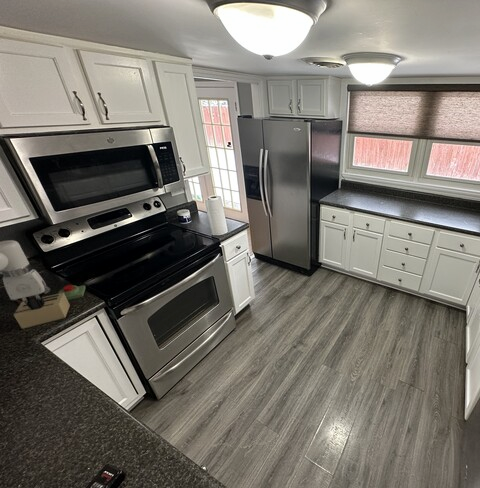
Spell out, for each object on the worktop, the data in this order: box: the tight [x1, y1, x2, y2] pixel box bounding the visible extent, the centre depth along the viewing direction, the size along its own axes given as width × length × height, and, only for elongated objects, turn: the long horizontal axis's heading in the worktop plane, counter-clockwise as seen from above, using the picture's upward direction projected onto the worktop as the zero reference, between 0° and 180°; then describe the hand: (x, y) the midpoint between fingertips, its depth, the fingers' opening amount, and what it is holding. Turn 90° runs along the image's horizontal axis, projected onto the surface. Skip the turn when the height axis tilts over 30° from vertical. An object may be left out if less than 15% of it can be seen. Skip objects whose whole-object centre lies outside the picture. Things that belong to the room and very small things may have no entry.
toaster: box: [13, 293, 71, 330], centre depth 118 cm, size 14×10×8 cm
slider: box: [29, 296, 40, 310], centre depth 112 cm, size 2×3×5 cm, turn 32°
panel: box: [57, 284, 87, 301], centre depth 133 cm, size 10×9×4 cm
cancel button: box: [62, 284, 74, 292], centre depth 132 cm, size 4×4×2 cm
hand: (37, 306), depth 113 cm, fingers closed on slider, 2 cm apart
